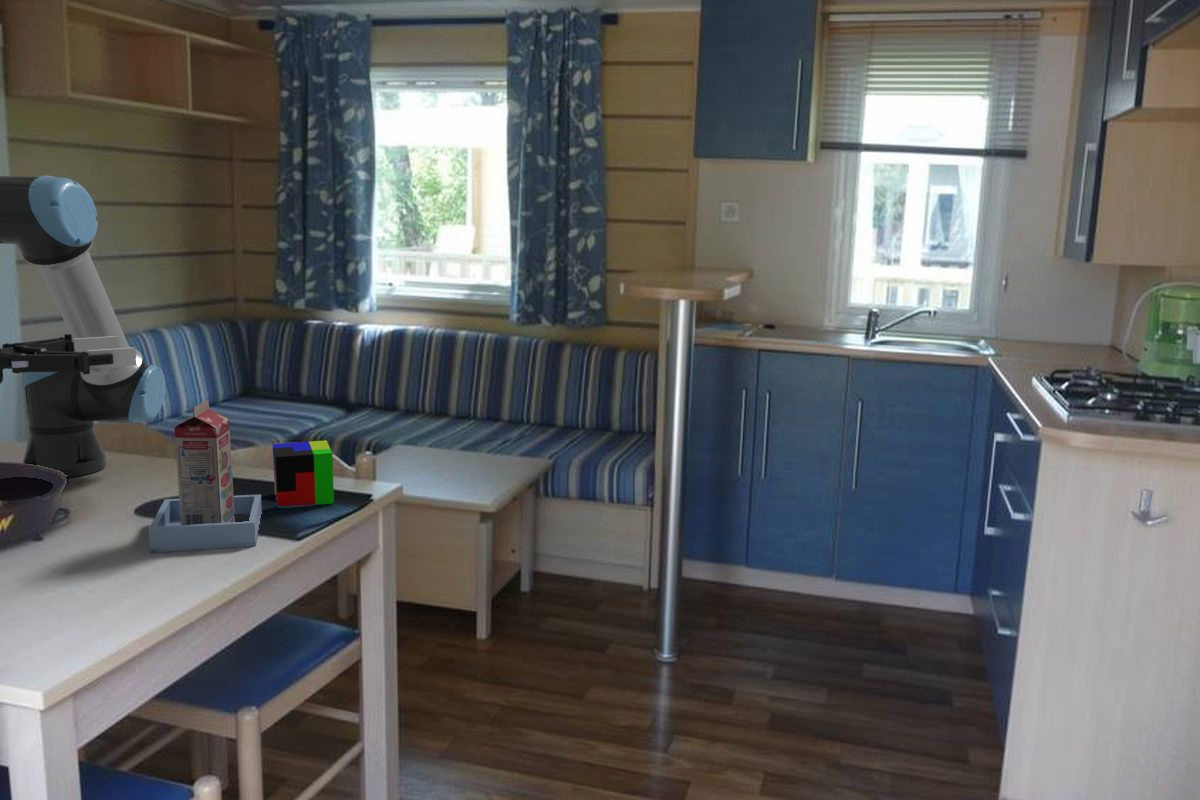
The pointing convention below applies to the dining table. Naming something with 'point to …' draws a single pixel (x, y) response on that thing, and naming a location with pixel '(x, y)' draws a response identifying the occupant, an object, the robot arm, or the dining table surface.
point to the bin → (204, 528)
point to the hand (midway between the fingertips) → (127, 350)
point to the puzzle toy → (303, 473)
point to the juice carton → (204, 468)
